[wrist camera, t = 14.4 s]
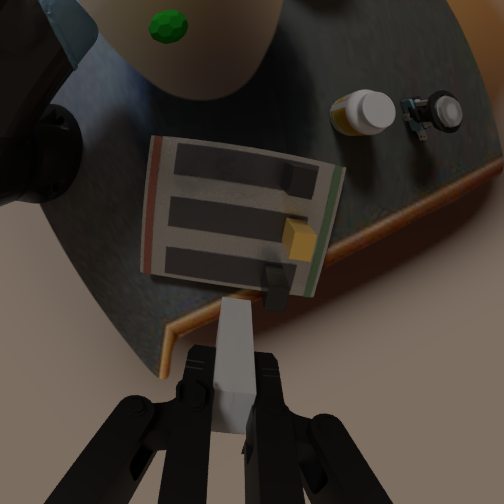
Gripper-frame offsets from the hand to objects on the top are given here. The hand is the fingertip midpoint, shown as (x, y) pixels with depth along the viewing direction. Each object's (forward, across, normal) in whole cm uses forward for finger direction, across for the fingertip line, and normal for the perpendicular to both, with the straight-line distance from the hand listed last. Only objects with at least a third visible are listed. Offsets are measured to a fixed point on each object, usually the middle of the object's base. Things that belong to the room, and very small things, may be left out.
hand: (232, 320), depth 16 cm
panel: (+24, 0, 0) cm, 24 cm away
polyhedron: (+25, -13, +24) cm, 37 cm away
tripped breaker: (+21, +7, 0) cm, 22 cm away
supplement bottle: (+25, +12, +16) cm, 32 cm away
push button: (+25, +22, +19) cm, 38 cm away
